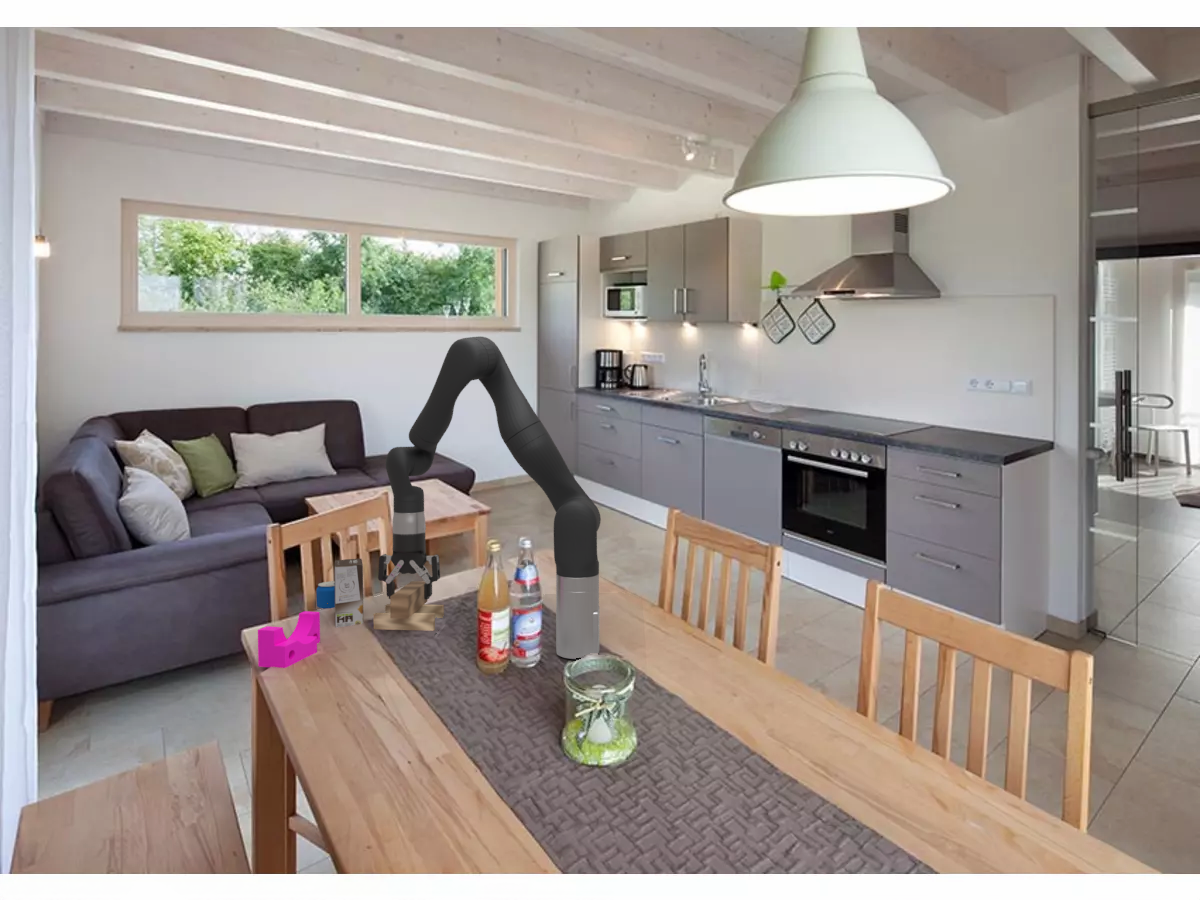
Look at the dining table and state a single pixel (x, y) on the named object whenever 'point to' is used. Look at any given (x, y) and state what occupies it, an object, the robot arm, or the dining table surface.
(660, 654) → the dining table surface
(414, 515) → the robot arm
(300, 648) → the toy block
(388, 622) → the rail stand
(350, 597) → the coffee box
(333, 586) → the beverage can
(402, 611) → the walnut beam
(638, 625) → the dining table surface
